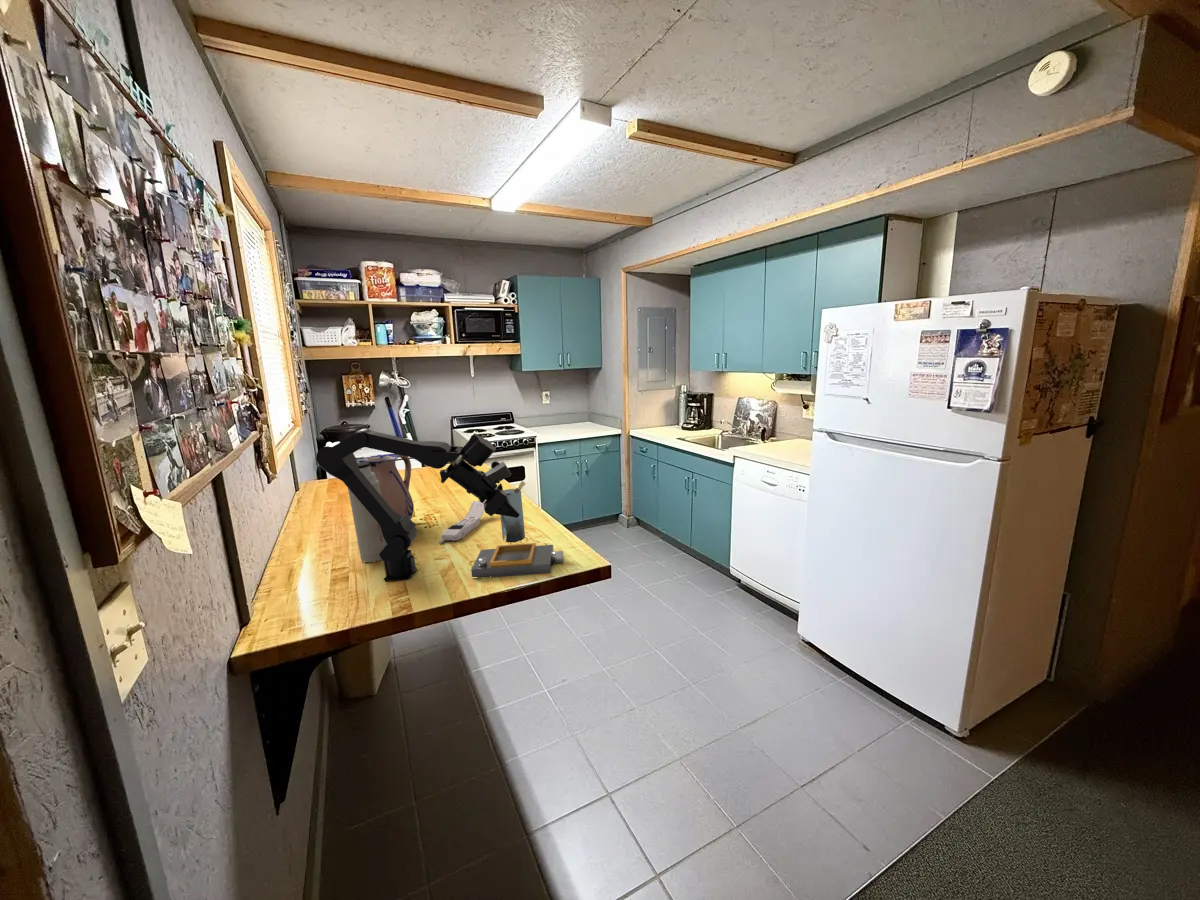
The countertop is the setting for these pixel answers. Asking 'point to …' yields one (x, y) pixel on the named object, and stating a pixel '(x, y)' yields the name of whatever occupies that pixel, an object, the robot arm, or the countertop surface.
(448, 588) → the countertop surface
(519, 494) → the spout can
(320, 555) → the countertop surface
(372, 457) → the ceramic pitcher
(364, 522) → the thermos bottle
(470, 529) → the mobile phone
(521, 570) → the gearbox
